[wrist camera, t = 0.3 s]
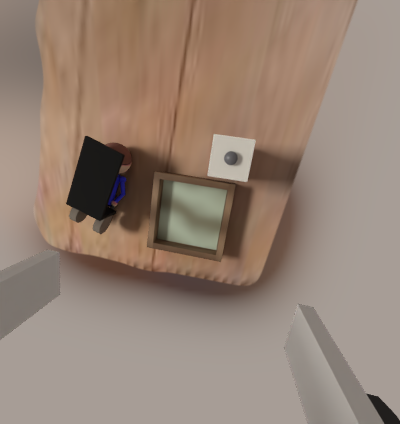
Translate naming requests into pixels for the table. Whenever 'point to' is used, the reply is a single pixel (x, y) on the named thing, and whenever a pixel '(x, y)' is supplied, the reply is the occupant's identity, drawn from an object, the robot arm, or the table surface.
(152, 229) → the brown wooden square tray
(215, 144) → the strip block
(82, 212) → the figurine character
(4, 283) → the robot arm
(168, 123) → the table surface
